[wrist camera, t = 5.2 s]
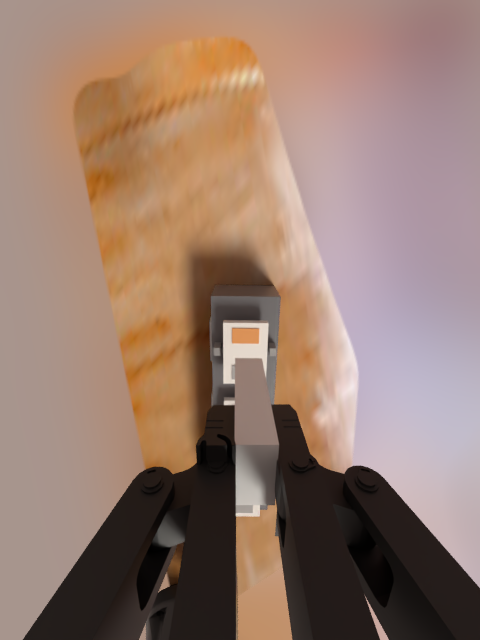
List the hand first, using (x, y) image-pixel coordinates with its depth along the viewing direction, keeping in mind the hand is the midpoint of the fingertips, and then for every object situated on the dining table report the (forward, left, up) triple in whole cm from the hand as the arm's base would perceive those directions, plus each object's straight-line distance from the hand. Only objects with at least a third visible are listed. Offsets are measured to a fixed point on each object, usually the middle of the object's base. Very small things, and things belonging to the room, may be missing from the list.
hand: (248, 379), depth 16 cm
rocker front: (-3, 0, -10) cm, 10 cm away
